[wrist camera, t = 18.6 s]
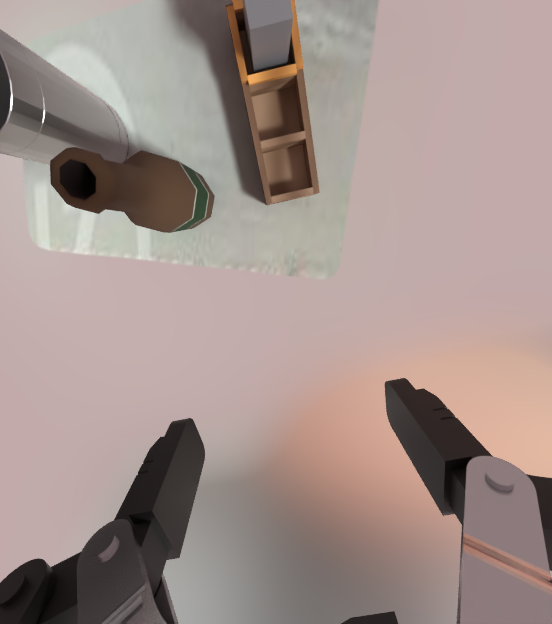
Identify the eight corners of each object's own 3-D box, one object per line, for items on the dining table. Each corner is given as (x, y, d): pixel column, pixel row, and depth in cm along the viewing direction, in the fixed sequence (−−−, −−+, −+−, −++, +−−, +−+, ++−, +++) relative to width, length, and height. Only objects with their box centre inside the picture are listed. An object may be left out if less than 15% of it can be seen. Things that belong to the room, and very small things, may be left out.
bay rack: (266, 205, 38) (266, 204, 34) (229, 23, 31) (223, -6, 27) (314, 194, 38) (320, 192, 34) (288, 8, 31) (291, -24, 27)
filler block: (254, 80, 32) (249, 29, 23) (246, 39, 31) (238, -32, 22) (286, 72, 32) (293, 18, 23) (279, 30, 31) (284, -45, 22)
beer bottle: (155, 174, 37) (-23, 110, 14) (209, 166, 36) (116, 89, 14) (170, 231, 39) (41, 254, 17) (221, 224, 39) (159, 237, 17)
